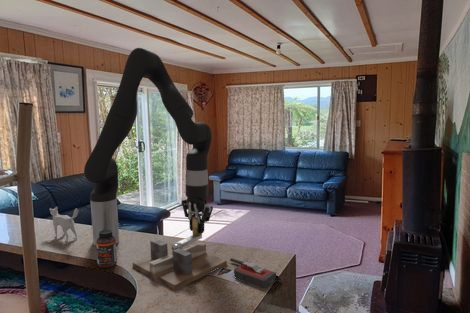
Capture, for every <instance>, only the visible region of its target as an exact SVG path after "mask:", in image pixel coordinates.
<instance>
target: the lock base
mask: <svg viewBox="0 0 470 313" xmlns="http://www.w3.org/2000/svg"><path fill="white" fill-rule="evenodd" d="M149 242H150V243H149V244H150V245H149V246H150V255H149V256H147V257H143V258H141V259H138V260H135V261H133V262H132V268H134V269H136V270H137V271H139V272H141V273H143V274H145V275H147V276H148V277H150V278H152V279H154V280H156V281H158V282H159V283H161V284H163V285H165V287H166V286H167V287H168V288H170V289H172V290H174V291H176V290H179V289H180V288H182V287H185V286H187V285H189V284H190V283H192V282H195V281H197V280H199V279H201V278H203V277H205V276H207V275H209V274H211V273H212V272H211V271H213V270H215V269H217V268H220V269H222V268H223V267H225V266H226V267H227V265H228V264H227V262H228V261H227V259H225V258H224V259H223V258H221V257H219V256H216V255H213V254H211V253H209V252H207V244H206V243H204V242H199V243H196V244H193V245H191V246H190V245H187V246H184V247H182V248H181V249H180V248H178V249H176V250H173V249H172V247H170V248H168V243H167V242H165V241H162V240H160V239H158V238H154V239H151V240H149ZM221 267H222V268H221ZM215 271H216V270H215ZM210 272H211V273H210ZM213 272H214V271H213ZM208 273H209V274H208Z"/></svg>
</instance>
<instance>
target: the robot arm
mask: <svg viewBox="0 0 470 313" xmlns="http://www.w3.org/2000/svg"><path fill="white" fill-rule="evenodd" d="M143 78H144V79H148V80H149V82H150V81H151V83H152V84H153V85H154V86H155V87H156V88H157V91H158V92H159V95H160V97H161V101H162V102H161V103H162V104H163V106H164V108H165V109H166V111H167V113H168V114H169V115H170V117H171V118H172V119H173V121H174V123H175V126H176V129H177V131H178V133H179V137H181V139H182V140H183V142H185V143H186V144H188V145H191V146H192V148H191V150H190V151H188V152H187V153H186V156H185V175H184V176H185V177H184V178H185V180H184V181H185V182H184V183H185V187H184V188H185V197H186V199H182V200H181V205H182V209H183V213H184V217H185V218H188V222H189V230H190V231H191V232H193V230H192V218H193V217H197V220H198V234H201V233H202V234H204V232H205V223H207V222H209V221H210V219H211V216H212V213H213V209H214V207H213V206H212V205H210V206H209V205H208V202H207V197H208V196H209V174H208V155H209V152H210V148H211V143H212V129H211V127H210V126H209V124H207V123H206V122H203V121H202V122H201V121H200V122H198V121H197V122H194V121H193V117H194V110H193V108H192V107H191V105H190V104H189V103H188V101H187V100H186V99H185V98H184V96H183V94H181V92H180V91H179V90H178V88H177V87H176V85H175V83H174V81H173V79H172V78H171V76H170V74H169V73H168V70H167V69H166V66H165V64H164V63H163V60H162V59H161V57H160V56H159V55H158V54H156V53H155V52H152V51H151V50H148V49H146V48H143V47H136V48H134V49H132V50H131V51H130V53H129V55H128V57H127V59H126V62H125V66H124V69H123V73H122V75H121V79H120V84H119V85H118V88H117V91H116V94H115V97H114V99H113V102H112V104H111V106H110V109H109V111H108V114H107V116H106V119H105V121H104V124H103V126H102V128H101V131H100V134H99V137H98V138H97V141H96V143H95V146H94V148H93V149H92V151H91V153H90V155H89V157H88V158H87V160H86V162H85V164H84V169H83V173H84V177H85V179H86V180H87V181H88V183H92V184H95V185H94V188H93V189H92V190H91V192H90V194H89V198H90V199H89V200H90V209H91V210H90V213H91V228H92V230H91V231H92V242H93V246H94V247H97V246H96V241H97V239H98V238H99V232H100V231H102V230H112V236H114V237H115V239H116V245H117V244H118V243H120V235H119V234H120V232H119V229H120V228H119V215H118V201H117V200H118V199H117V193H118V189H119V168H118V164H117V162H116V160H115V159H114V158H113V156H114V154H115V153H116V151H117V150H118V148H119V147H120V145H121V144H122V143H124V141H125V139H126V138H127V137H128V135H129V134H130V132H131V130H132V128H133V126H134V124H135V121H136V119H137V116H138V100H137V99H138V97H137V96H138V91H139V87H140V84H141V82H142V80H143ZM201 218H202V219H201Z"/></svg>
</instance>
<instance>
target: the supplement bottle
mask: <svg viewBox="0 0 470 313" xmlns="http://www.w3.org/2000/svg"><path fill="white" fill-rule="evenodd" d="M95 247H96V256H97V257H96V261H97V263H96V264H97V266H98V267H99V268H105V269H107V268H111V267H113V266H115V265H116V264H117V244H116V239H115V237H114V236H112V230H102V231H100V232H99V238H98V239H97V241H96V246H95Z"/></svg>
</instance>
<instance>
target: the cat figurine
mask: <svg viewBox="0 0 470 313" xmlns="http://www.w3.org/2000/svg"><path fill="white" fill-rule="evenodd" d="M58 209H59V206H58V205H57V206H55V207H54V208H51V207H50V208H49V211H50V212H49V213H50V215H51V216H52V225H53V230H54V233H55V236H54V238H58V227H61V230H62V232H63V233H62V235H63V236H65V237H66V240H64V242H65V243H69V234H68V230H71V232H72V233H73V235H74V237H73V239H74V240H77V237H78V236H77V232H76V228H75V221H74V219H75V218H76V217H77V216H78V214H79V212H80V210H79V209H78V208H77V207H76V208H75V209H74V210H73V214H72V216H69V215H67V214H65V215H64V214H59V210H58Z"/></svg>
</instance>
